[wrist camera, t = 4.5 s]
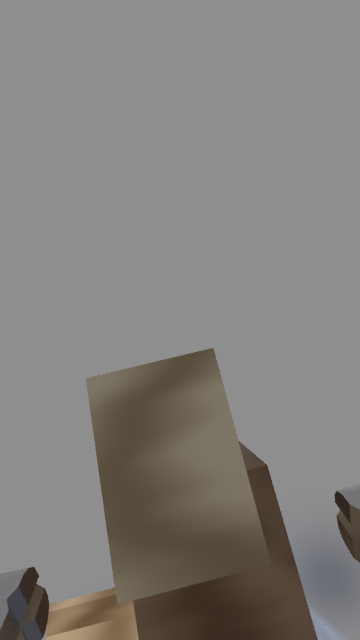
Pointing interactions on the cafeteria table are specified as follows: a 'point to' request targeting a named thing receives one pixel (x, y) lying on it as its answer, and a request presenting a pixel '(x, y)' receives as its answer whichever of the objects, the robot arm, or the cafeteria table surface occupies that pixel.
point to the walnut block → (237, 589)
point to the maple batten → (172, 477)
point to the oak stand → (92, 618)
